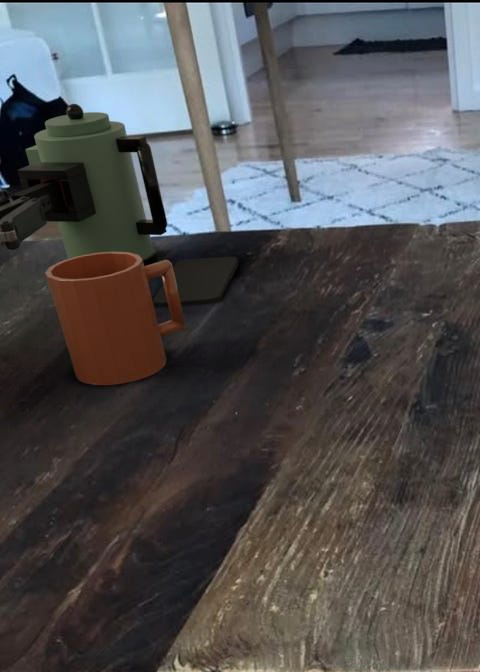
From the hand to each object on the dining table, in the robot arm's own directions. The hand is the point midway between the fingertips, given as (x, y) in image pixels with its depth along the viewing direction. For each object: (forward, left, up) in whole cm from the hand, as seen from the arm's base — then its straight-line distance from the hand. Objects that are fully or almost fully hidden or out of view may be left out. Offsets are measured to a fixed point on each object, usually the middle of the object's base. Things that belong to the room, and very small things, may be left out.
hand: (56, 193), depth 124 cm
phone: (+15, -1, -10) cm, 18 cm away
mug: (+19, -24, -10) cm, 33 cm away
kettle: (+1, +5, -10) cm, 11 cm away
